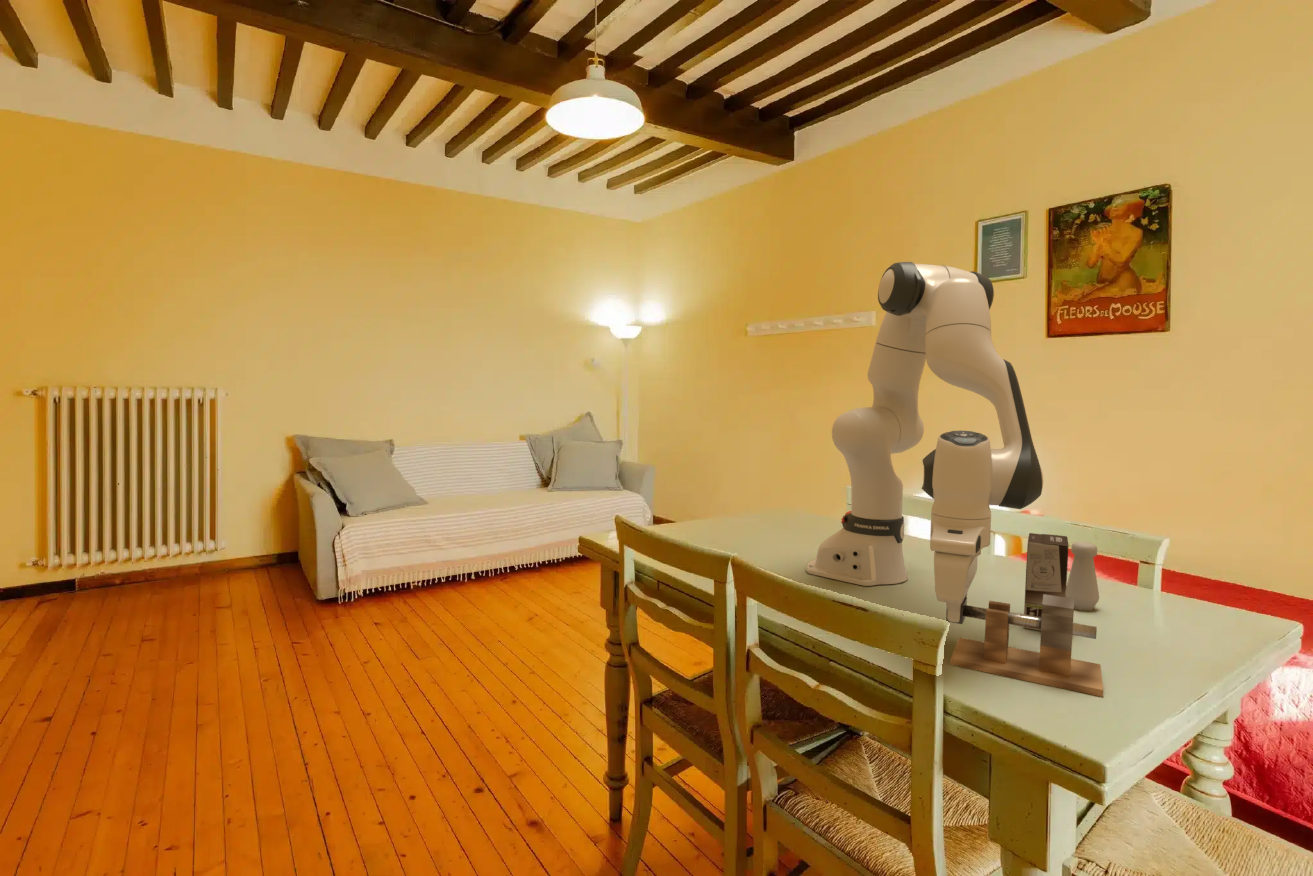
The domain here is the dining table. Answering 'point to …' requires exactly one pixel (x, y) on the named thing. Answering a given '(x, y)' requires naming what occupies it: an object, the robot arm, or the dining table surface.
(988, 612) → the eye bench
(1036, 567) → the coffee box
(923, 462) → the robot arm
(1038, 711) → the dining table surface
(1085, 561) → the salt shaker
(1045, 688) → the dining table surface
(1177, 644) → the dining table surface
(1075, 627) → the grey block-headed metal pin
